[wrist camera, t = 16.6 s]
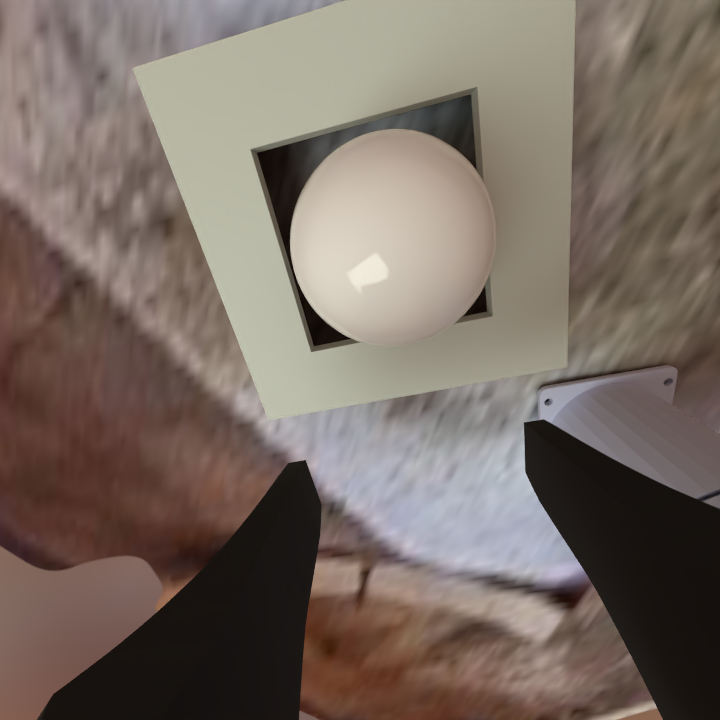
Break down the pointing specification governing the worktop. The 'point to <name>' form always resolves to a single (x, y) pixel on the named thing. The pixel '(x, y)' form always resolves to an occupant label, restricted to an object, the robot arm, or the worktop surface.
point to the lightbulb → (393, 237)
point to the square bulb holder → (355, 107)
